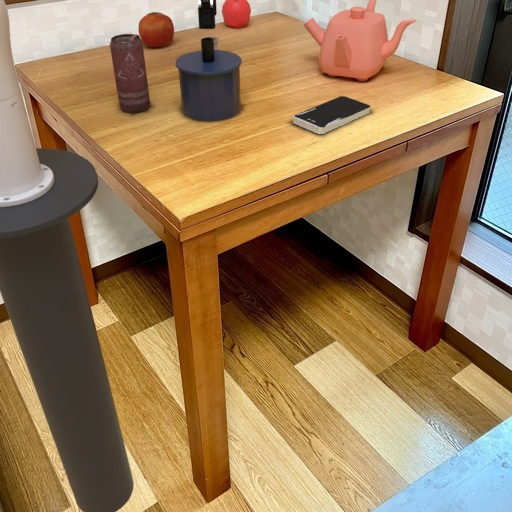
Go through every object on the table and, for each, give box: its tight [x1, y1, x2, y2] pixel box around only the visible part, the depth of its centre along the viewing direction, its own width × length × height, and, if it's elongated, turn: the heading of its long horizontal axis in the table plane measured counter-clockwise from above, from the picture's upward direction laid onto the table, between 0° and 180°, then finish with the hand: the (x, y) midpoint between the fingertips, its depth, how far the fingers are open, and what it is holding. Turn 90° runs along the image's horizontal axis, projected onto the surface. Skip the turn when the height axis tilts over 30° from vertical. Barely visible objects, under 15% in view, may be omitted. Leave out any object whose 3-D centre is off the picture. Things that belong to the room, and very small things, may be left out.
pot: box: [177, 66, 242, 122], centre depth 117 cm, size 12×12×10 cm
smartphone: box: [292, 95, 371, 135], centre depth 116 cm, size 8×1×15 cm
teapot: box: [303, 0, 418, 82], centre depth 131 cm, size 18×18×14 cm
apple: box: [221, 0, 252, 29], centre depth 162 cm, size 8×8×8 cm
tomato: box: [138, 11, 175, 48], centre depth 150 cm, size 9×9×8 cm
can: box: [109, 33, 151, 114], centre depth 117 cm, size 6×6×14 cm
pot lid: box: [174, 37, 243, 75], centre depth 113 cm, size 13×13×5 cm
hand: (208, 21), depth 122 cm, fingers open, 9 cm apart
